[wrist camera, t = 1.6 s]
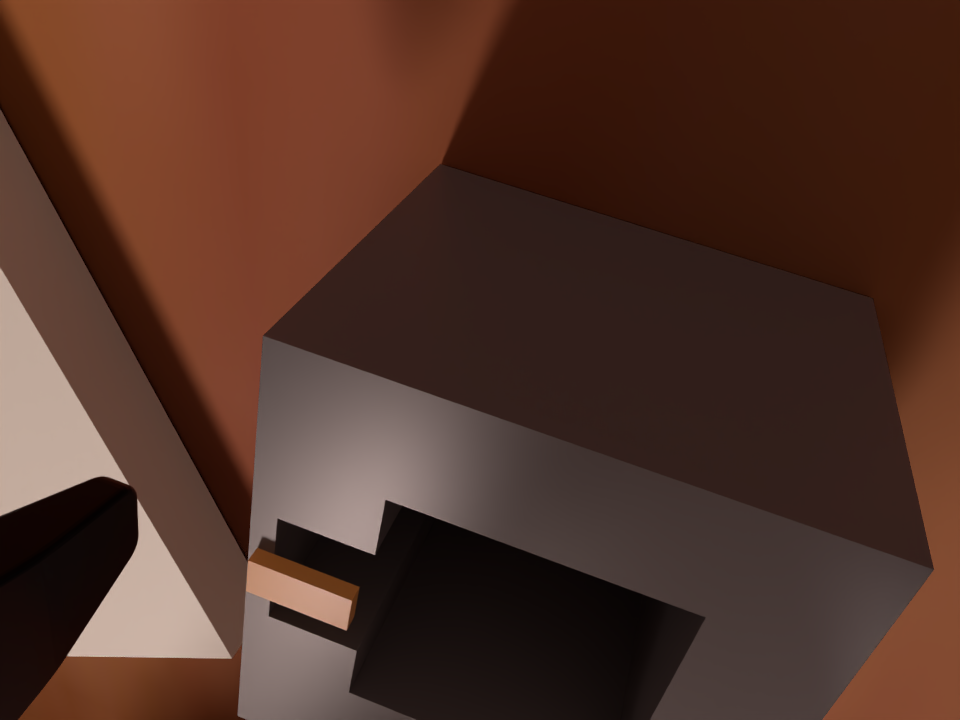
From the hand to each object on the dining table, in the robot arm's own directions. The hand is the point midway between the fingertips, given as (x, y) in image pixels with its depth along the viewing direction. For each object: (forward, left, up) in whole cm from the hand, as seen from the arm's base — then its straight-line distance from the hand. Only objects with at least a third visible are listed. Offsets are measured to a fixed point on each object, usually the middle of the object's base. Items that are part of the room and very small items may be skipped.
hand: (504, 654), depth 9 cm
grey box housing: (0, 0, -5) cm, 5 cm away
